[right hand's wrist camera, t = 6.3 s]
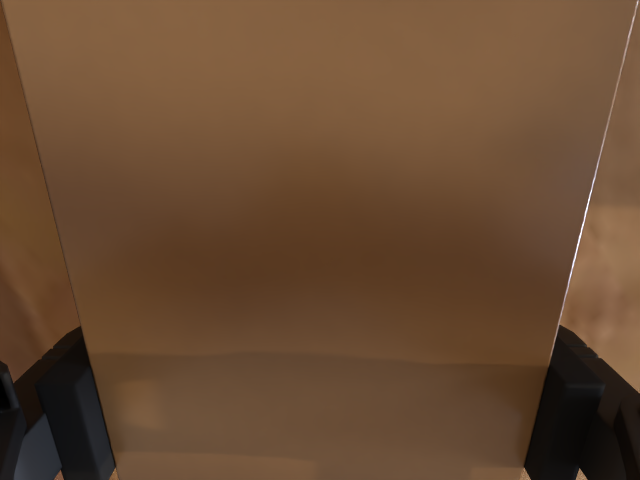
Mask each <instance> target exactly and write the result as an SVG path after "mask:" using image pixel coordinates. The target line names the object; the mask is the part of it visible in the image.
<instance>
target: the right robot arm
mask: <svg viewBox="0 0 640 480" xmlns="http://www.w3.org/2000/svg"><path fill="white" fill-rule="evenodd" d="M115 467H116V466H115V462H114V458H113V454H112V450H111V446H110V442H109V438H108V434H107V430H106V425H105V421H104V417H103V413H102V409H101V405H100V401H99V397H98V393H97V389H96V385H95V381H94V377H93V373H92V369H91V365H90V361H89V357H88V353H87V349H86V344H85V340H84V336H83V332H82V328H81V326H80V327H78V328H76V329H74V330H72V331H71V332H69V333H67V334H66V335H65V336H64V337H63V338H62V339H61V340H60V341H58V342H57V343H56V344H55V345H54V346H53V349H50V350H49V351H48V352H47V353H46V354H45V355H43V356H42V359H41V360H38V361H37V362H36V363H35V364H34V365H33V366H32V367H31V368H30V369H28V370H27V371H26V372H25V373H24V374H23V375H22V376H21V377H20V378H19V379H18V380H17V381H16V382H15V383H13V381H12V378H11V375H10V372H9V369H8V366H7V365H6V364H5V363H3V362H1V361H0V480H54V478H55V477H56V475H57V474H58V472H59V471H60V470H61V472H62V475H63V478H64V480H109V478H110V476H111V474H112V473H113V471H114V469H115ZM524 468H525V469H526V471H527V473H528V475H529V477H530V478H531V480H576V477H577V474H578V471H579V468H580V469H581V471H582V472H583V474H584V475H585V476H586V478H587V479H588V480H640V394H639V393H638V392H637V391H636V390H635V389H634V388H633V387H632V386H631V385H630V384H629V383H627V382H626V381H625V380H624V379H623V378H622V377H621V376H620V375H619V374H618V373H617V372H616V371H614V370H613V369H612V368H611V367H610V366H609V365H608V364H607V363H606V362H605V361H604V360H603V359H602V358H598V355H597V354H596V353H595V352H594V351H593V350H592V349H591V348H590V347H587V345H586V344H585V343H584V342H583V341H582V340H581V339H580V338H579V337H578V336H577V335H576V334H575V333H573V332H572V331H570V330H568V329H567V328H565V327H563V326H561V325H559V327H558V331H557V335H556V339H555V343H554V348H553V352H552V356H551V360H550V364H549V368H548V372H547V376H546V380H545V384H544V388H543V392H542V396H541V400H540V404H539V408H538V412H537V416H536V420H535V424H534V428H533V433H532V437H531V441H530V445H529V449H528V453H527V457H526V461H525V465H524Z"/></svg>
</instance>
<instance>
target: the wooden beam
mask: <svg viewBox="0 0 640 480" xmlns="http://www.w3.org/2000/svg"><path fill="white" fill-rule="evenodd" d="M638 3H639V0H1V4H2V8H3V12H4V16H5V21H6V25H7V29H8V33H9V37H10V41H11V45H12V49H13V53H14V57H15V61H16V65H17V69H18V73H19V77H20V81H21V85H22V89H23V93H24V97H25V102H26V106H27V110H28V114H29V118H30V122H31V126H32V130H33V134H34V138H35V142H36V146H37V150H38V154H39V158H40V162H41V166H42V170H43V174H44V178H45V182H46V187H47V191H48V195H49V199H50V203H51V207H52V211H53V215H54V219H55V223H56V227H57V231H58V235H59V239H60V243H61V247H62V251H63V255H64V259H65V263H66V268H67V272H68V276H69V280H70V284H71V288H72V292H73V296H74V300H75V304H76V308H77V312H78V316H79V320H80V324H81V328H82V332H83V336H84V340H85V344H86V349H87V353H88V357H89V361H90V365H91V369H92V373H93V377H94V381H95V385H96V389H97V393H98V397H99V401H100V405H101V409H102V413H103V417H104V421H105V425H106V430H107V434H108V438H109V442H110V446H111V450H112V454H113V458H114V462H115V466H116V470H117V474H118V478H119V480H521V477H522V473H523V469H524V465H525V461H526V457H527V453H528V449H529V445H530V441H531V437H532V433H533V428H534V424H535V420H536V416H537V412H538V408H539V404H540V400H541V396H542V392H543V388H544V384H545V380H546V376H547V372H548V368H549V364H550V360H551V356H552V352H553V348H554V343H555V339H556V335H557V331H558V327H559V323H560V319H561V315H562V311H563V307H564V303H565V299H566V295H567V291H568V287H569V283H570V279H571V275H572V271H573V267H574V262H575V258H576V254H577V250H578V246H579V242H580V238H581V234H582V230H583V226H584V222H585V218H586V214H587V210H588V206H589V202H590V198H591V194H592V190H593V186H594V182H595V177H596V173H597V169H598V165H599V161H600V157H601V153H602V149H603V145H604V141H605V137H606V133H607V129H608V125H609V121H610V117H611V113H612V109H613V105H614V101H615V96H616V92H617V88H618V84H619V80H620V76H621V72H622V68H623V64H624V60H625V56H626V52H627V48H628V44H629V40H630V36H631V32H632V28H633V24H634V20H635V16H636V11H637V7H638Z"/></svg>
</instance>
